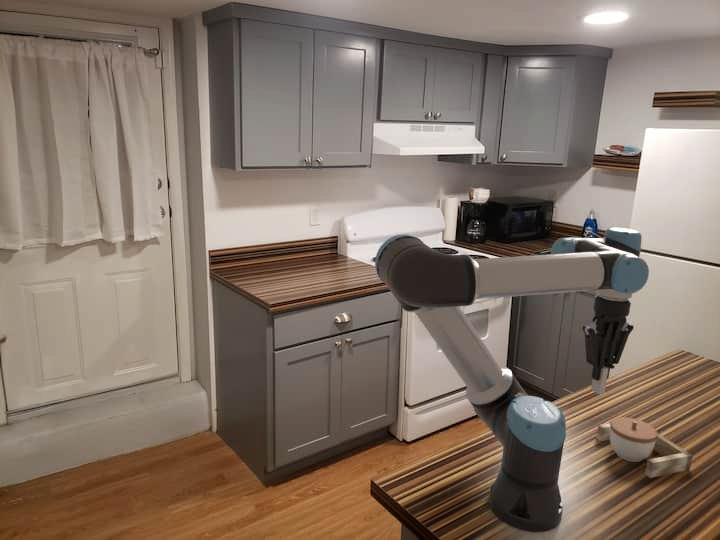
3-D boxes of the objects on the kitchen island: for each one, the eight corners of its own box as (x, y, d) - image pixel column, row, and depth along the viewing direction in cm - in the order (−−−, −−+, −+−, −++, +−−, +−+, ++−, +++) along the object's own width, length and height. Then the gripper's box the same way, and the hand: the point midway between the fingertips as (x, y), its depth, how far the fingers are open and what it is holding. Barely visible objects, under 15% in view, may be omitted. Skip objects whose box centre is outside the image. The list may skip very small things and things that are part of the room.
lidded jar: (658, 470, 137) (665, 435, 135) (612, 464, 139) (618, 429, 136) (644, 446, 147) (650, 414, 145) (601, 441, 149) (607, 409, 146)
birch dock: (650, 477, 134) (653, 463, 133) (596, 438, 150) (598, 425, 149) (689, 469, 138) (692, 455, 137) (632, 432, 154) (635, 419, 153)
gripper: (602, 303, 122) (586, 402, 128) (648, 299, 126) (631, 395, 132) (578, 293, 129) (564, 387, 135) (623, 290, 133) (608, 382, 139)
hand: (597, 391), depth 133 cm, fingers closed
